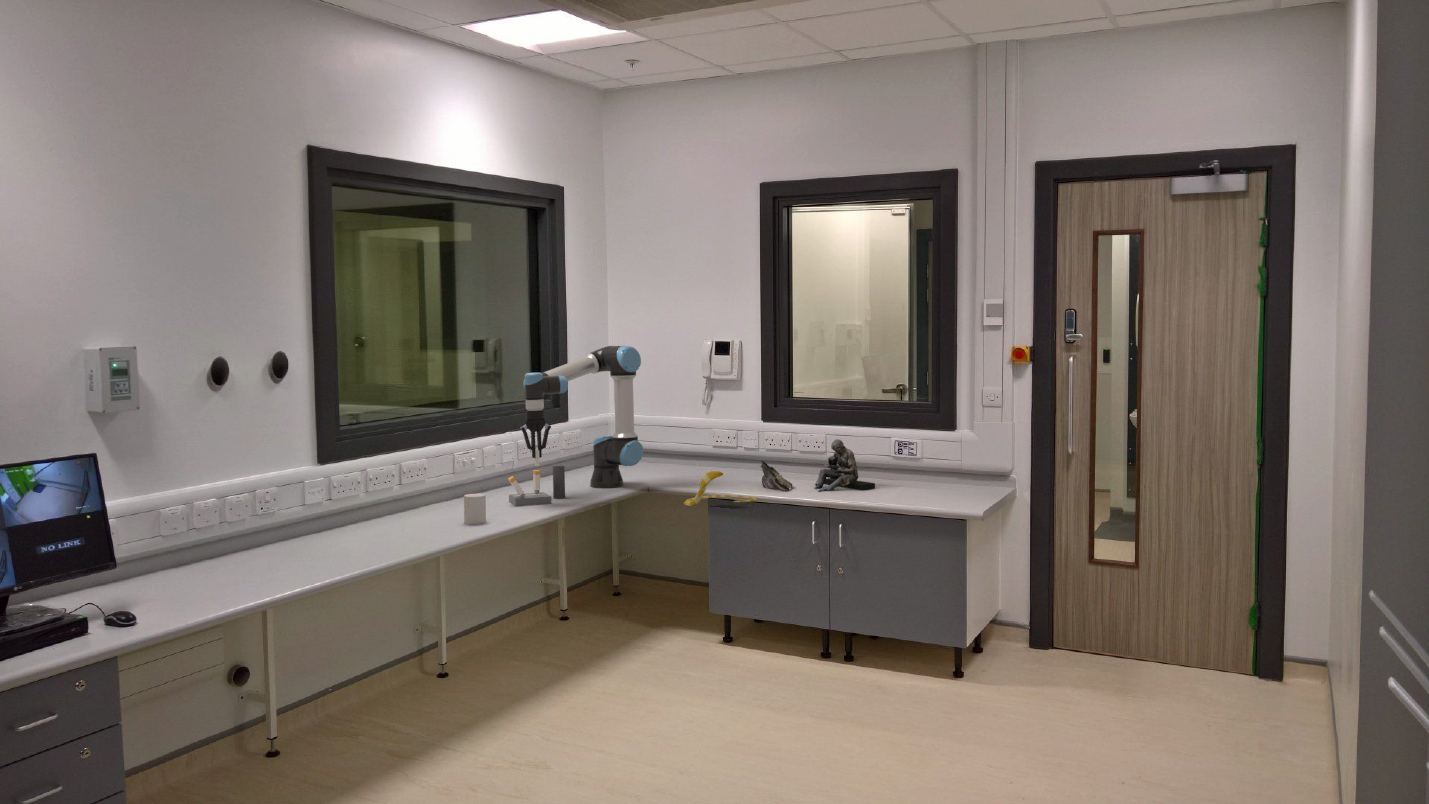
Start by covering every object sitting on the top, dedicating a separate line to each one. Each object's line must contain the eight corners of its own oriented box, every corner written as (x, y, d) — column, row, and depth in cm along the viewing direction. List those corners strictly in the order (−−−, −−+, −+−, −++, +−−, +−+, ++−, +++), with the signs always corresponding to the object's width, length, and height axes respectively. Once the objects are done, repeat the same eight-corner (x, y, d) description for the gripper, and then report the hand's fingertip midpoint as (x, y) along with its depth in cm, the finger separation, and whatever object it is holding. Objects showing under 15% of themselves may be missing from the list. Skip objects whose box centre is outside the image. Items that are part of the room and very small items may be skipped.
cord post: (563, 497, 438) (562, 465, 437) (566, 499, 433) (565, 466, 432) (552, 498, 436) (551, 466, 435) (555, 499, 431) (554, 467, 430)
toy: (738, 511, 399) (738, 474, 398) (675, 507, 409) (674, 471, 408) (761, 500, 427) (761, 465, 426) (701, 497, 437) (701, 463, 436)
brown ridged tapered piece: (751, 455, 443) (764, 460, 470) (738, 471, 444) (753, 476, 470) (790, 484, 437) (802, 489, 463) (778, 501, 437) (790, 505, 464)
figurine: (796, 492, 448) (796, 439, 447) (835, 487, 463) (835, 435, 462) (835, 498, 428) (835, 443, 427) (875, 493, 443) (875, 439, 442)
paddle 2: (538, 491, 432) (537, 469, 431) (540, 493, 428) (540, 471, 427) (533, 492, 431) (532, 470, 430) (535, 493, 427) (535, 471, 426)
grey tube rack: (543, 499, 433) (543, 491, 433) (551, 503, 421) (551, 495, 421) (509, 501, 427) (508, 493, 427) (515, 506, 415) (515, 498, 415)
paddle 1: (524, 494, 421) (511, 475, 419) (526, 495, 417) (513, 477, 415) (520, 497, 421) (507, 478, 418) (522, 498, 417) (509, 480, 414)
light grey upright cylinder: (466, 524, 391) (465, 493, 390) (487, 524, 391) (486, 493, 391) (462, 528, 383) (462, 497, 382) (484, 527, 383) (484, 496, 383)
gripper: (548, 408, 425) (550, 463, 427) (517, 409, 420) (519, 465, 422) (552, 409, 418) (554, 465, 420) (521, 411, 413) (523, 467, 415)
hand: (537, 465), depth 421 cm, fingers closed
